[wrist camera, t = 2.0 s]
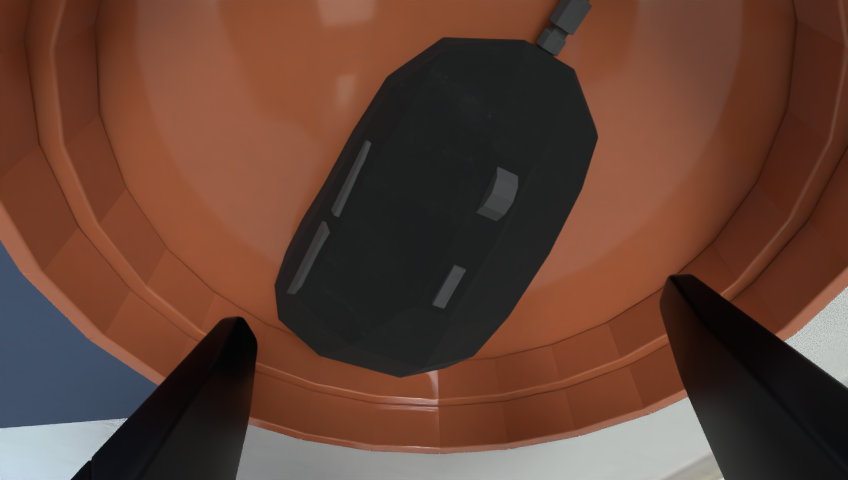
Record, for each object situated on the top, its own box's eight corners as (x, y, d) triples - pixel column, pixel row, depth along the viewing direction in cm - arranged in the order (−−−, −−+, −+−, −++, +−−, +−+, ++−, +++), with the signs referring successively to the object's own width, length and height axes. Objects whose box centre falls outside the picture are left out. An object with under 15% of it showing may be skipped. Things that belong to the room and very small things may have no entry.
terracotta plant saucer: (705, 346, 19) (751, 433, 17) (245, 385, 21) (220, 469, 18) (1091, -503, 6) (1583, -727, 4) (-203, -234, 8) (-521, -253, 5)
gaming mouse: (747, -12, 10) (885, 64, 7) (418, 351, 19) (418, 453, 16) (499, -206, 8) (548, -213, 5) (259, 303, 17) (226, 410, 14)
